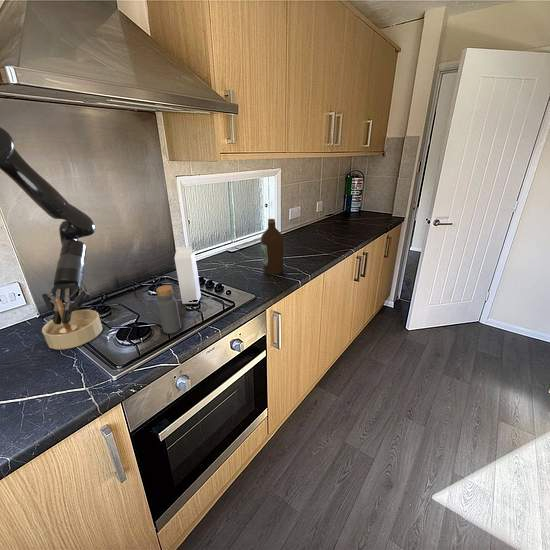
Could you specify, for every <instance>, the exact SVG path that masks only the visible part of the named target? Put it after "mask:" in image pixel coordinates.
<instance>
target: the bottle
mask: <svg viewBox="0 0 550 550" xmlns="http://www.w3.org/2000/svg"><path fill="white" fill-rule="evenodd" d="M155 291H156V293H157V294H156V298H157V299H158V300H157V301H156V304H157V305H156V306H157V310H158V314H159V320H160V324H161V329H162V331H163V333H164V334H168V335H169V334H174V333H177V332H179V331H181V329H182V322H181V318H180V317H181V316H180V313H179V312H180V311H179V307H178V301H177V299H176V297H174V296H175V292H174V290H173V286H172V285H169V284H164V285H160V286H158V287H156V289H155Z"/></svg>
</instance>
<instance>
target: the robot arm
mask: <svg viewBox="0 0 550 550" xmlns="http://www.w3.org/2000/svg"><path fill="white" fill-rule="evenodd" d="M0 171H2V172H3V173H4V174H5V175H7V176H8V178H10V179H11V180H12V181H13V182H14V183H15V184H16V185H17V186H18V187H19V188H20V189H21V190H22V191H23V192H24V193H25V194H26V195H27V196H28V197H29V198H30V199H31V200H32V201H33V202H34V203H35V204H36V205H37V206H38V207H39V208H40V209H41V210H43V212H44V213H45V214H47V215H48V216H49V217H50V218H52V219H54V220H62V222H61V223H60V225H59V228H58V231H59V233H58V234H59V239H60V245H61V246H60V252H59V257H58V260H57V263H56V268H55V273H54V278H53V287H52V289H51V291H50V292H48V293H42V294H41V296H42V299H43V301H44V303H45V305H46V307H47V309H48V310H49V311H51V312H53V317H52V319H53V322H54V323H55V324H57V325H59V324H61V321H62V323H64V324H68V323H69V322H70V320H71V314H72V312H73V311H78V310H80V308H81V307H82V305H83V304H84V303H85V302H86V301H87V299H88V298H89V297H90V293H89V292H87V291H86V290H83V288H82V286H83V281H84V277H85V276H84V274H85V270H86V269H85V268H86V258H87V257H86V256H87V245H86V244H85V243H84V242H83V241H81V240H79V239H80V238H86V237H90V236H92V235H93V234H95V232H96V225H95V222H94V220H93V219H92V218H91V217H90V216H89V215H88V214H86V213H85V212H84V211H82V210H80V209H79V208H77V207H76V206H74V205H73V204H71V203H70V202H69V201H68V200H67V199H66V198H65V197H64V196H63V195H62V194H61V193H60V192H59V191H58V190H57V189H56V188H55V187H54V186H53V185H52V184H51V183H49V182H48V181H47V180H46V179H45V178H44V177H43V176H41V175H40V174H39V173H38V172H37V171H36V170H35V169H34V168H33V167H32V166H31V165H30V164H29V163H28V162H27V161H26V160H25V159H24V158H23V157H22V156H21V155H20V153H19V152H18V151H17V150H16V148H15V142H14V139H13V137H12V136H11V134H10V133H9V132H8V131H7V130H6V129H4V128H3V127H1V126H0ZM56 299H61V301H62V304H63V306H64V309H65V311H64V312H63V317H62V320H61V317H60V314H59V312H58V309H57V306H56V303H55V300H56Z"/></svg>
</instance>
